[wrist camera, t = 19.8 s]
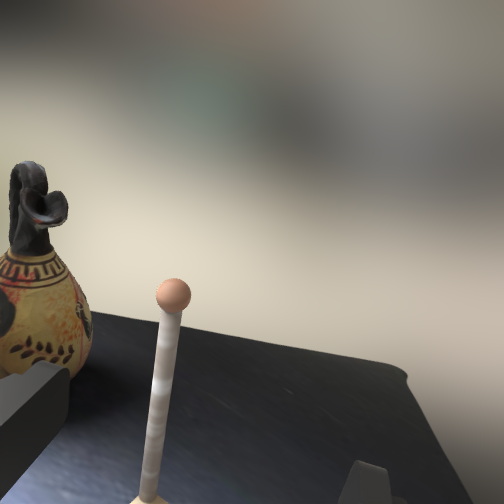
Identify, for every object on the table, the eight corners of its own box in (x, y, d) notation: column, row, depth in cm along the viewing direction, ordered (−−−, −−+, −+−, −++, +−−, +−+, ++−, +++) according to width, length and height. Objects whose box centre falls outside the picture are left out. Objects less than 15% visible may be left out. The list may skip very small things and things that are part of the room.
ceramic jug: (107, 402, 54) (123, 187, 43) (-31, 451, 44) (-54, 186, 33) (66, 336, 65) (71, 153, 55) (-51, 364, 55) (-73, 145, 44)
